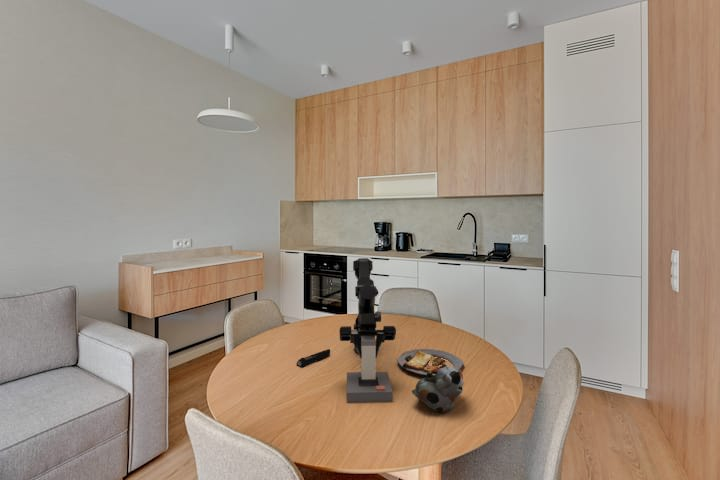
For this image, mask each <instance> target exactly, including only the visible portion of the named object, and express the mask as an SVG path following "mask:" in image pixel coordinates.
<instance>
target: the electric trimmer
mask: <svg viewBox="0 0 720 480" xmlns="http://www.w3.org/2000/svg"><path fill="white" fill-rule="evenodd" d="M330 355H331V349H330V348H327V349H325V350H322V351H319V352H315V353H314V354H311V355H308V356H305V357H301V358H299V359H298V360H297V362H296V365H295V366H297V368H298V367H299V368H305V366H307V365H309V364H312V363H314V362H317V361H318V362H319V361H321V360H323V359H325V358H327V357H329V356H330Z"/></svg>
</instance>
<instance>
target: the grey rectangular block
mask: <svg viewBox="0 0 720 480" xmlns="http://www.w3.org/2000/svg"><path fill="white" fill-rule="evenodd" d="M375 337H376V336H361V351H362V359H360V360H361V361H360V363H361V365H360V369H361V370H360V372H361V376H362V379H376V372H377V371H376V368H377V367H376V365H377V364H376V361H377V358H376V338H375Z"/></svg>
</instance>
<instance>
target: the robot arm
mask: <svg viewBox="0 0 720 480" xmlns="http://www.w3.org/2000/svg"><path fill="white" fill-rule="evenodd" d="M373 263H374V262H373V260H371V259H370V258H367V257H366V258H364V257H362V258H361V257H360V258H357V259H356V260H353V262H352V265H353V266H352V271H353V272H354V276H355V278H356V280H357V281H356V286H354V287H355V289H354V291H355V294H354V295H355V297H356V298H357V300H358V304H357V306H358V307H357V308H358V309H357V311H358V312H357V313H358V315H357V317H356V318H355V321H354V322H355V323H354V324H353V329H352V326H348V325H347V326H346V325H345V326H340V327H339V341H341V342H350V344H352V345H353V346H354V348H353V351H354V352H355V353H357V354H358V355H359V359H360V360H361V359H362V351H361V336H375V337H376V338H375V340H376V359H377V357H378V353H379V350H380V347H381V345H382V344H383V343H385V341H394V340H395V339H396V335H397V328H396V327H395V326H394V325H384V326H383V328H382V329H376V328H377V323H380V322H382V312H381V311H375V304H376V303H375V302H376V297H377V296H378V295H379V289H377V286H375V282H374V280H373V279H371V274H372V271H373V268H374V267H373V266H374V265H373Z"/></svg>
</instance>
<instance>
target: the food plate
mask: <svg viewBox="0 0 720 480" xmlns="http://www.w3.org/2000/svg"><path fill="white" fill-rule="evenodd" d="M432 356H433V357H432ZM434 357H437V358H434ZM431 358H432V359H431ZM441 358H443V359H446V360H448V361H449V362H450V363H451V364H452V365H453V368H455V369H457V371H459V370H461V368H462V367H463V365H465V362H464V361H463V360H462V359H461V358H459V357H458V356H457V355H454V354H453V353H449V352H448V351H447V352H446V351H444V350H440V349H434V348H417V349H415V348H414V349H411V350H407V351H404V352H403V353H402V354H400V356H398V358H397V359H396V362H397V364H398V365H399V366H400V367H401V368H402V369H404V370H405V371H408V372H412V373H414V374H418V375H419V376H425V377H427V372H428V371H429V370H430V371H431V372H432V374H433V377H435V375H436V373H437V372H438V370H439V369H440V368H443V367H446V366H448V365H447V364H445V362H446V361H445V360H443V359H441ZM430 359H431V360H432V362H431V363H432V366H430V365H429V364H428V363H429V361H430ZM444 361H445V362H444ZM443 362H444V363H443ZM449 362H448V363H449ZM442 363H443V364H442ZM441 364H442V366H439V365H441ZM451 364H450V365H451Z"/></svg>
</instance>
